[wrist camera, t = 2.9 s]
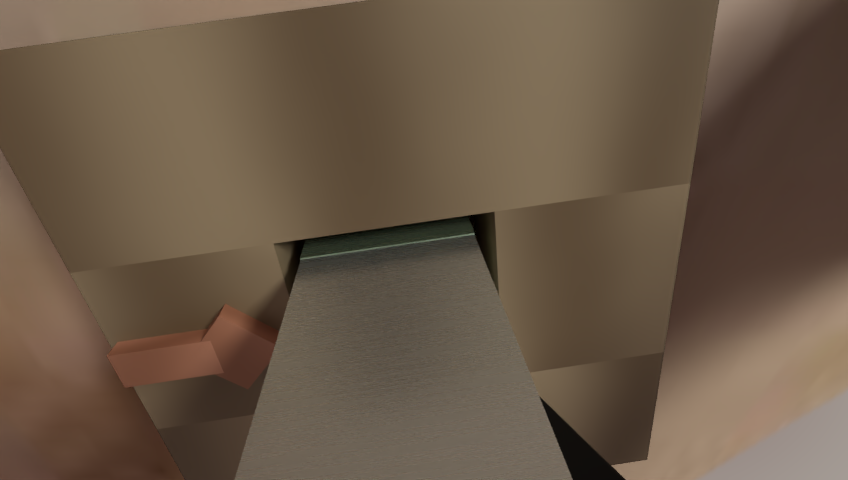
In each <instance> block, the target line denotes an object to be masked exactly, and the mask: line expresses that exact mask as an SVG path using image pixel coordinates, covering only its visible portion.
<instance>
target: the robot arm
mask: <svg viewBox="0 0 848 480" xmlns="http://www.w3.org/2000/svg"><path fill="white" fill-rule="evenodd" d="M539 397H540V396H539ZM540 399H541V402H542V404H543V407H544V409H545V412H546V414H547V417H548V419H549V422H550V424H551V427H552V429H553V432H554V434H555V437H556V439H557V442H558V444H559V447H560V449H561V452H562V454H563V457H564V459H565V462H566V464H567V467H568V469H569V472H570V474H571V477H572V479H573V480H625V479H624V478H623V477H622V476H621V475H620V474H619V473H618V472H617V471H616V470H615V469H614V468H613V467H612V466H611V465H610V464H609V463H608V462H607V461H606V460H605V459H604V458H603V457H602V456H601V455H600V454H599V453H598V452H597V451H596V450H594V449H593V448H592V447H591V446H590V445H589V444H588V443H587V442H586V441H585V440H584V439H583V438H582V437H581V436H580V435H579V434H578V433H577V432H576V431H575V430H574V429H573V428H572V427H571V426H570V425H569V424H568V423H567V422H566V421H565V420H564V419H563V418H562V417H561V416H559V415H558V414H557V413H556V412H555V411H554V410H553V409H552V408H551V407H550V406H549V405H548V404H547V403H546V402H545V401H544V400H543V399H542V398H541V397H540Z"/></svg>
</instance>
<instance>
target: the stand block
mask: <svg viewBox="0 0 848 480" xmlns="http://www.w3.org/2000/svg"><path fill="white" fill-rule="evenodd" d="M718 4H719V0H368V1H360V2H353V3H345V4H338V5H331V6H323V7H316V8H308V9H301V10H294V11H286V12H279V13H271V14H264V15H256V16H249V17H242V18H234V19H227V20H219V21H212V22H205V23H197V24H190V25H182V26H175V27H167V28H160V29H153V30H145V31H138V32H130V33H123V34H116V35H108V36H101V37H93V38H86V39H78V40H71V41H64V42H56V43H49V44H41V45H34V46H27V47H19V48H12V49H5V50H0V148H1V150H2V152H3V154H4V156H5V157H6V159H7V161H8V163H9V165H10V166H11V168H12V170H13V172H14V174H15V175H16V177H17V179H18V181H19V183H20V184H21V186H22V188H23V190H24V192H25V193H26V195H27V197H28V199H29V201H30V202H31V204H32V206H33V208H34V209H35V211H36V213H37V215H38V217H39V218H40V220H41V222H42V224H43V226H44V227H45V229H46V231H47V233H48V235H49V236H50V238H51V240H52V242H53V244H54V245H55V247H56V249H57V251H58V253H59V254H60V256H61V258H62V260H63V262H64V263H65V265H66V267H67V269H68V271H69V272H70V274H71V276H72V278H73V280H74V281H75V283H76V285H77V287H78V289H79V290H80V292H81V294H82V296H83V297H84V299H85V301H86V303H87V305H88V306H89V308H90V310H91V312H92V314H93V315H94V317H95V319H96V321H97V323H98V324H99V326H100V328H101V330H102V332H103V333H104V335H105V337H106V339H107V341H108V342H109V344H110V346H111V348H112V350H111V351H110V352H109V354H108V355H107V358H108V359H109V361H110V363H111V365H112V366H113V368H114V370H115V372H116V374H117V375H118V377H119V379H120V381H121V382H122V384H123V386H124V388H126V387H134V389H135V391H136V393H137V394H138V396H139V398H140V400H141V402H142V403H143V405H144V407H145V409H146V411H147V412H148V414H149V416H150V418H151V420H152V421H153V423H154V425H155V427H156V429H157V430H158V432H159V434H160V436H161V438H162V439H163V441H164V443H165V445H166V447H167V448H168V450H169V452H170V454H171V456H172V457H173V459H174V461H175V463H176V464H177V466H178V468H179V470H180V472H181V473H182V475H183V477H184V479H185V480H235V476H236V473H237V470H238V466H239V463H240V460H241V457H242V453H243V450H244V447H245V443H246V440H247V437H248V433H249V430H250V427H251V423H252V420H253V417H254V413H255V410H256V407H257V403H258V400H259V397H260V393H261V390H262V387H263V383H264V380H265V377H266V374H267V370H268V367H269V364H270V360H271V357H272V354H273V350H274V347H275V344H276V340H277V337H278V334H279V330H280V327H281V324H282V320H283V317H284V314H285V310H286V307H287V304H288V300H289V297H290V294H291V290H292V287H293V284H294V281H295V277H296V274H297V271H298V267H299V264H300V256H301V253H302V250H303V247H304V243H305V240H306V239H309V238H316V237H323V236H329V235H336V234H343V233H350V232H357V231H364V230H371V229H378V228H385V227H392V226H398V225H405V224H412V223H419V222H426V221H433V220H440V219H447V218H454V217H461V216H468V215H474V214H475V224H476V237H477V243H478V245H479V248H480V250H481V253H482V255H483V258H484V260H485V263H486V265H487V268H488V270H489V273H490V275H491V278H492V280H493V283H494V285H495V288H496V290H497V292H498V295H499V297H500V300H501V302H502V305H503V307H504V310H505V312H506V315H507V317H508V320H509V322H510V325H511V327H512V330H513V332H514V335H515V337H516V340H517V342H518V345H519V347H520V350H521V352H522V355H523V357H524V360H525V362H526V365H527V367H528V370H529V372H530V375H531V377H532V380H533V382H534V385H535V387H536V389H537V392H538V394H539V396H540V397H541V398H542V399H543V400H544V401H545V402H546V403H547V404H548V405H549V406H550V407H551V408H552V409H553V410H554V411H555V412H556V413H557V414H558V415H559V416H561V417H562V418H563V419H564V420H565V421H566V422H567V423H568V424H569V425H570V426H571V427H572V428H573V429H574V430H575V431H576V432H577V433H578V434H579V435H580V436H581V437H582V438H583V439H584V440H585V441H586V442H587V443H588V444H589V445H590V446H591V447H592V448H593V449H594V450H596V451H597V452H598V453H599V454H600V455H601V456H602V457H603V458H604V459H605V460H606V461H607V462H608V463H609V464H610V465H615V464H622V463H628V462H635V461H641V460H647V457H648V450H649V444H650V438H651V431H652V425H653V418H654V412H655V406H656V399H657V393H658V387H659V380H660V374H661V368H662V361H663V355H664V348H665V342H666V336H667V329H668V323H669V317H670V310H671V304H672V297H673V291H674V285H675V278H676V272H677V266H678V259H679V253H680V246H681V240H682V234H683V227H684V221H685V215H686V208H687V202H688V196H689V189H690V183H691V176H692V170H693V164H694V157H695V151H696V145H697V138H698V132H699V125H700V119H701V113H702V106H703V100H704V94H705V87H706V81H707V74H708V68H709V62H710V55H711V49H712V43H713V36H714V30H715V23H716V17H717V11H718Z"/></svg>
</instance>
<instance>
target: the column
mask: <svg viewBox="0 0 848 480" xmlns="http://www.w3.org/2000/svg"><path fill="white" fill-rule="evenodd" d="M235 480H573V479H572V477H571V474H570V472H569V469H568V467H567V464H566V462H565V459H564V457H563V454H562V452H561V449H560V447H559V444H558V442H557V439H556V437H555V434H554V432H553V429H552V427H551V424H550V422H549V419H548V417H547V414H546V412H545V409H544V407H543V404H542V402H541V399H540V397H539V394H538V392H537V389H536V387H535V385H534V382H533V380H532V377H531V375H530V372H529V370H528V367H527V365H526V362H525V360H524V357H523V355H522V352H521V350H520V347H519V345H518V342H517V340H516V337H515V335H514V332H513V330H512V327H511V325H510V322H509V320H508V317H507V315H506V312H505V310H504V307H503V305H502V302H501V300H500V297H499V295H498V292H497V290H496V288H495V285H494V283H493V280H492V278H491V275H490V273H489V270H488V268H487V265H486V263H485V260H484V258H483V255H482V253H481V250H480V248H479V245H478V243H477V240H476V238H475V232H474V230H473V227H472V225H471V223H470V220H469V218H468V216H461V217H454V218H447V219H440V220H433V221H426V222H419V223H412V224H405V225H398V226H392V227H385V228H378V229H371V230H364V231H357V232H350V233H343V234H336V235H329V236H323V237H316V238H309V239H306V240H305V243H304V247H303V250H302V253H301V256H300V264H299V267H298V271H297V274H296V277H295V281H294V284H293V287H292V290H291V294H290V297H289V300H288V304H287V307H286V310H285V314H284V317H283V320H282V324H281V327H280V330H279V334H278V337H277V340H276V344H275V347H274V350H273V354H272V357H271V360H270V364H269V367H268V370H267V374H266V377H265V380H264V383H263V387H262V390H261V393H260V397H259V400H258V403H257V407H256V410H255V413H254V417H253V420H252V423H251V427H250V430H249V433H248V437H247V440H246V443H245V447H244V450H243V453H242V457H241V460H240V463H239V466H238V470H237V473H236V476H235Z"/></svg>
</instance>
